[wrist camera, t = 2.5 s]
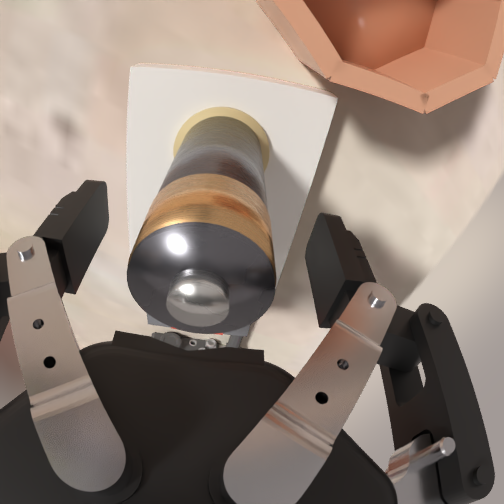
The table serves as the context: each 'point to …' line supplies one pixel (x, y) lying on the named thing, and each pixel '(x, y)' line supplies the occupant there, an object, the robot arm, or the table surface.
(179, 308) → the cell
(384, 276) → the table surface
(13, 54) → the table surface
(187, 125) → the tester
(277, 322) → the table surface
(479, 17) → the cup
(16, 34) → the table surface
